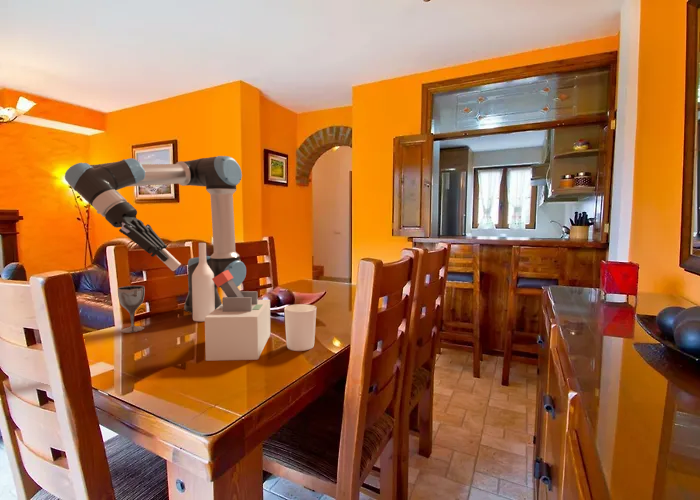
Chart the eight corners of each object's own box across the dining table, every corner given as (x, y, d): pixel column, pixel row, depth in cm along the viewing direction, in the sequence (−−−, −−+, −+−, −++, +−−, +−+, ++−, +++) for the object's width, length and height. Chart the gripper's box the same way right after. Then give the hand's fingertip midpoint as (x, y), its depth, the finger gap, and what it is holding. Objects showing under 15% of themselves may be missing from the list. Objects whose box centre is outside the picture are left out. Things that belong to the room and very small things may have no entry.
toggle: (238, 305, 107) (218, 275, 106) (248, 298, 107) (228, 269, 106) (233, 309, 101) (211, 278, 100) (243, 303, 101) (222, 272, 100)
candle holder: (310, 353, 99) (310, 312, 99) (279, 350, 101) (278, 310, 100) (320, 342, 109) (320, 305, 108) (291, 339, 111) (291, 303, 110)
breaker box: (228, 335, 115) (227, 288, 114) (270, 334, 116) (269, 287, 115) (205, 360, 93) (204, 302, 92) (257, 359, 94) (257, 302, 93)
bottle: (194, 316, 138) (192, 242, 135) (215, 315, 140) (214, 242, 138) (191, 322, 130) (189, 243, 128) (214, 320, 132) (212, 243, 130)
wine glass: (114, 330, 119) (112, 288, 118) (137, 325, 126) (136, 284, 125) (127, 334, 115) (125, 290, 114) (150, 328, 122) (149, 286, 121)
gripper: (120, 219, 105) (177, 273, 107) (91, 218, 92) (156, 279, 94) (138, 202, 105) (194, 256, 107) (111, 198, 92) (176, 260, 94)
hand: (176, 267), depth 101 cm, fingers closed
